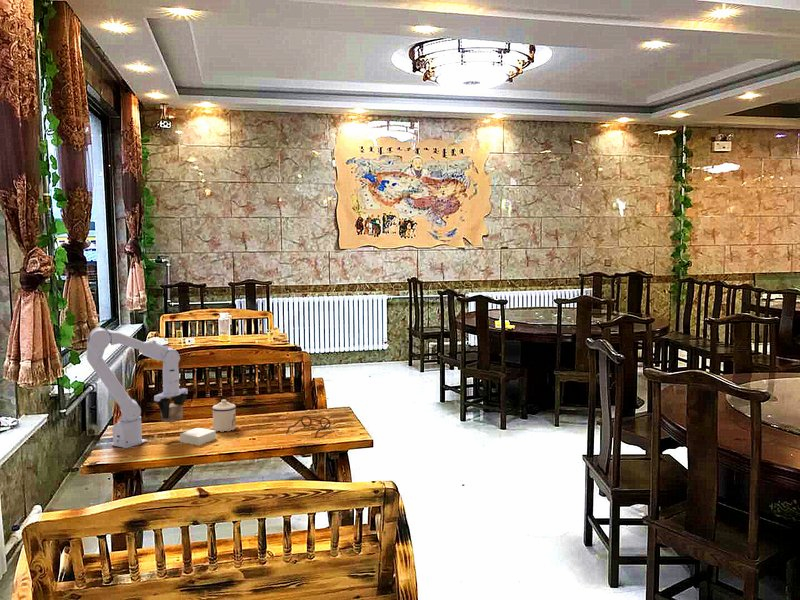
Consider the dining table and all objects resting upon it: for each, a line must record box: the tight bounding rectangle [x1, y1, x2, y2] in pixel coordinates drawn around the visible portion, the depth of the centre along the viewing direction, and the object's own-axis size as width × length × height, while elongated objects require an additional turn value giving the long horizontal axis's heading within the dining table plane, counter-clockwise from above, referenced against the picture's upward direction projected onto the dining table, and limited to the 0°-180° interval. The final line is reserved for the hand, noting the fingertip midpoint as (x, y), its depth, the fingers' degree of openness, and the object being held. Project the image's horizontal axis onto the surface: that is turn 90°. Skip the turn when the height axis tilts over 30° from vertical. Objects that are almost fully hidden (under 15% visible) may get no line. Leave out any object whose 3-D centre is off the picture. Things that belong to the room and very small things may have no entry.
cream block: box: [179, 427, 217, 446], centre depth 244 cm, size 9×9×4 cm
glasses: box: [285, 415, 332, 439], centre depth 256 cm, size 13×13×5 cm
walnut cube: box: [160, 402, 184, 424], centre depth 247 cm, size 6×6×6 cm
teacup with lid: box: [211, 399, 237, 433], centre depth 260 cm, size 12×9×12 cm
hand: (171, 416), depth 247 cm, fingers closed on walnut cube, 5 cm apart
